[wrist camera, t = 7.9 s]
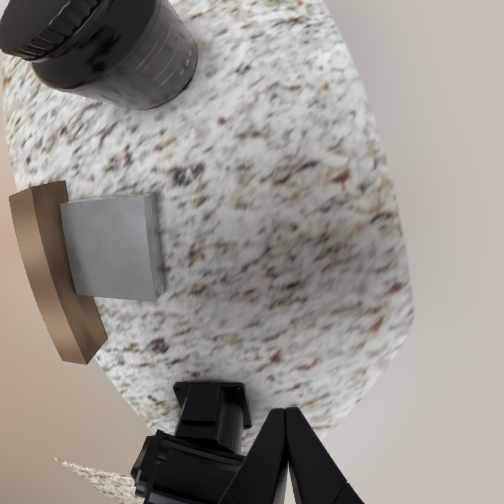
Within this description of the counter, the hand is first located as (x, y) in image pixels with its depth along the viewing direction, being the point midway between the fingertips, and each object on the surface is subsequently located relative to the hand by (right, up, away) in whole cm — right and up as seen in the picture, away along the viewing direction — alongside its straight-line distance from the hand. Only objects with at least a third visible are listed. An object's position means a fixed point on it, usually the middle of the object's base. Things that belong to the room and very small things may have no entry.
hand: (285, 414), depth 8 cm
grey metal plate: (-11, +6, +12) cm, 17 cm away
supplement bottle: (-8, +18, +7) cm, 21 cm away
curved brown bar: (-16, +4, +12) cm, 21 cm away
